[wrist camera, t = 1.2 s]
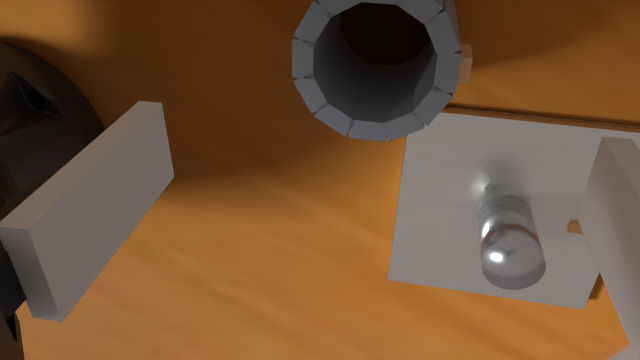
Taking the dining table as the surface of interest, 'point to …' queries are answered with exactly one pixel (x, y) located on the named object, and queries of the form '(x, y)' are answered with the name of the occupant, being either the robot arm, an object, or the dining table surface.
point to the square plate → (499, 205)
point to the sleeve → (378, 72)
